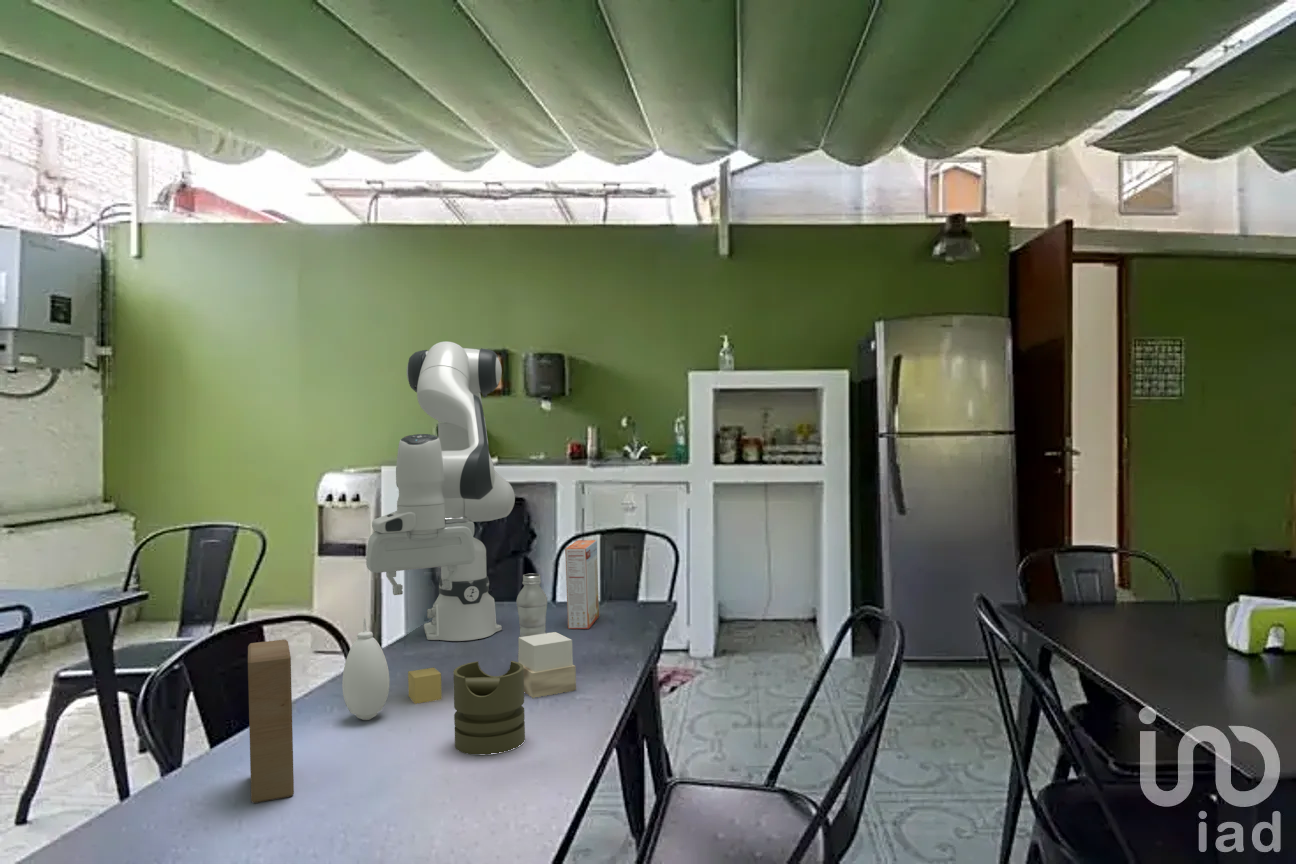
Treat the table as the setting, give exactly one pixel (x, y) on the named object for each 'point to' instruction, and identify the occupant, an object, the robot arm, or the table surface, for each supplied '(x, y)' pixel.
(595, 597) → the cracker box
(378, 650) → the air blower bulb
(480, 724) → the piston
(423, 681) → the mustard cube
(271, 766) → the decorative block
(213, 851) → the table surface
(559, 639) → the painted tower top
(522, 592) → the plastic bottle
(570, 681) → the birch tower base
